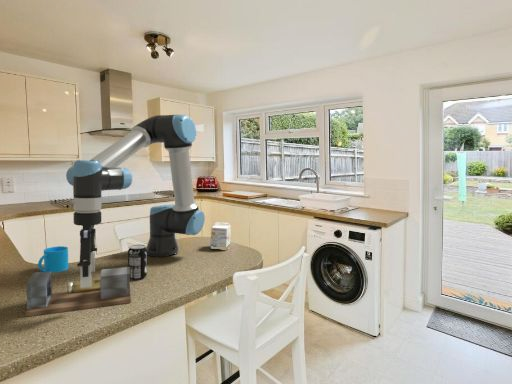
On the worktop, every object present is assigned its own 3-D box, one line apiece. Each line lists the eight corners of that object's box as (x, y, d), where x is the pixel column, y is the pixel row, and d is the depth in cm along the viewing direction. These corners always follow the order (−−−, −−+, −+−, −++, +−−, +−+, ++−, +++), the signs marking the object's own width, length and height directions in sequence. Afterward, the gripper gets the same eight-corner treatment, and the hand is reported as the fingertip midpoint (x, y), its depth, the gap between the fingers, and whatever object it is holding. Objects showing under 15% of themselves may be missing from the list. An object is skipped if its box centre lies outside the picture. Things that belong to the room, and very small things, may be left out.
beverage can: (142, 273, 123) (142, 243, 122) (149, 277, 119) (149, 246, 118) (125, 277, 119) (125, 245, 118) (132, 282, 114) (132, 249, 113)
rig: (129, 288, 108) (129, 262, 108) (130, 302, 97) (130, 274, 97) (36, 299, 98) (35, 270, 97) (25, 316, 87) (24, 285, 86)
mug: (56, 264, 130) (56, 245, 129) (73, 267, 128) (73, 247, 127) (29, 274, 118) (29, 253, 117) (47, 277, 116) (47, 255, 116)
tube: (125, 285, 104) (125, 274, 103) (125, 289, 100) (125, 278, 100) (69, 291, 98) (69, 280, 97) (67, 296, 94) (67, 284, 94)
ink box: (210, 249, 160) (210, 223, 159) (214, 245, 168) (215, 220, 167) (226, 251, 159) (227, 224, 157) (230, 246, 167) (231, 221, 166)
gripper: (78, 205, 106) (79, 267, 107) (66, 218, 83) (67, 296, 85) (103, 205, 109) (103, 265, 110) (98, 217, 86) (99, 292, 88)
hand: (88, 279), depth 98 cm, fingers open, 13 cm apart
